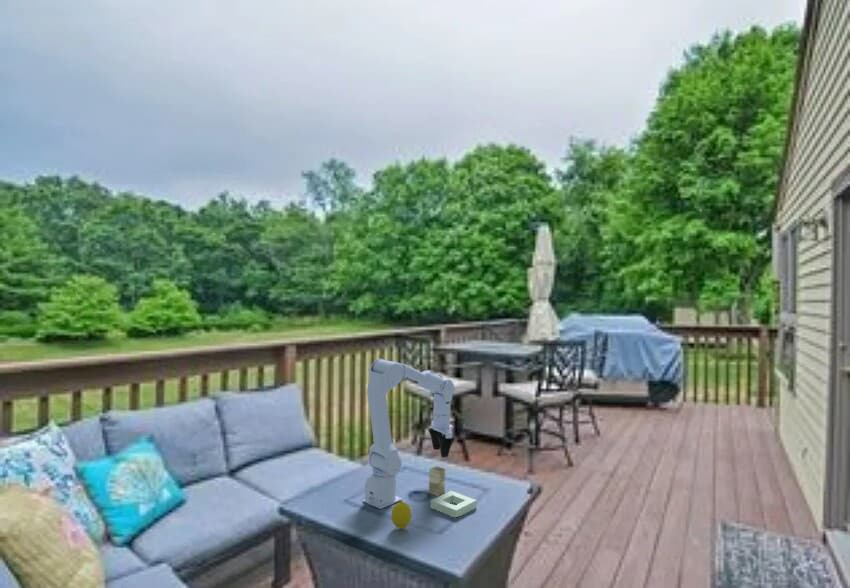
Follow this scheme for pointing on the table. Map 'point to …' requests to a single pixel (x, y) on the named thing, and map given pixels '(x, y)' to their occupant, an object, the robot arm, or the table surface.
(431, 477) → the peg
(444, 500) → the socket block
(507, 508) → the table surface
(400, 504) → the lemon
